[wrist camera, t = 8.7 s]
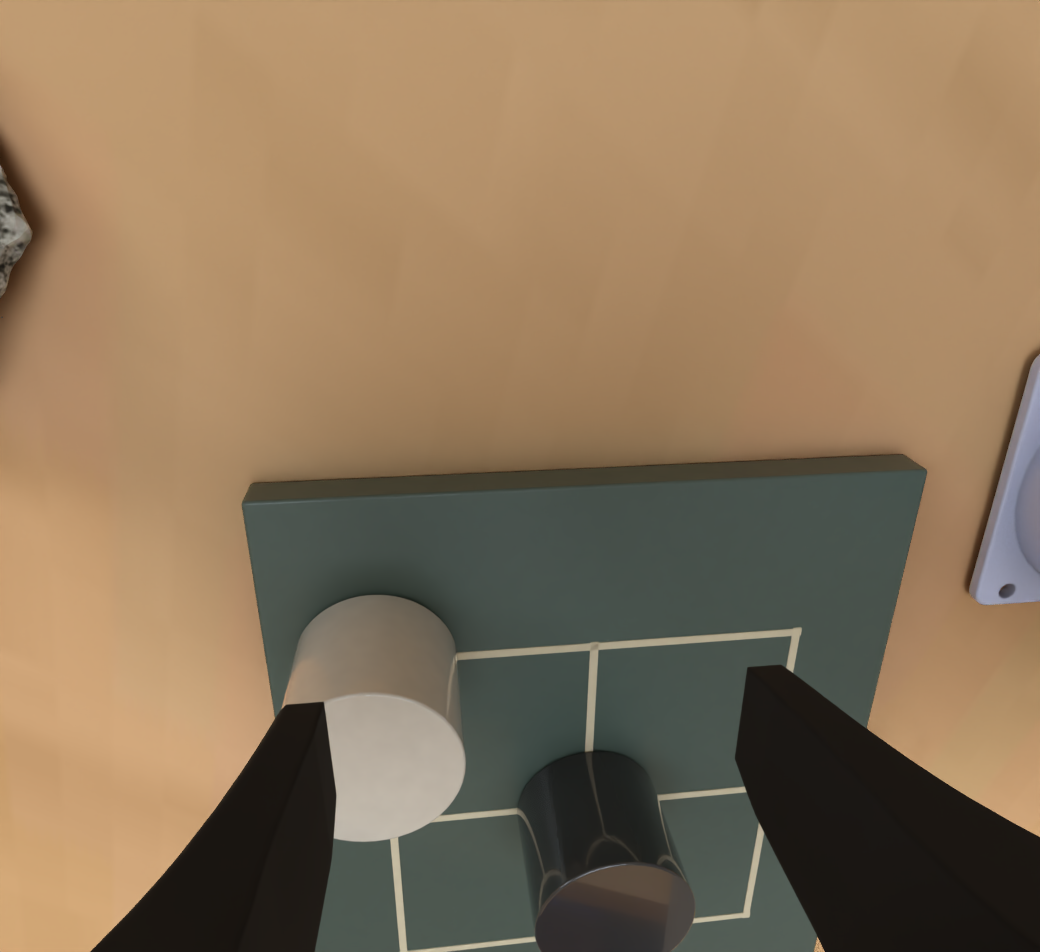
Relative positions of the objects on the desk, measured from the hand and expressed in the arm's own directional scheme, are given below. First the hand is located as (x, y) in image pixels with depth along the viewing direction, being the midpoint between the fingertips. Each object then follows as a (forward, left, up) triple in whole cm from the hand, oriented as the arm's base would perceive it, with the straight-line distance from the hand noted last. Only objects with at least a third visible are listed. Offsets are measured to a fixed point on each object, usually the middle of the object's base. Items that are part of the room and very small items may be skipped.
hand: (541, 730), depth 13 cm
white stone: (+3, +4, -8) cm, 9 cm away
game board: (-3, +10, -9) cm, 14 cm away
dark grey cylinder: (-3, +10, -8) cm, 13 cm away
